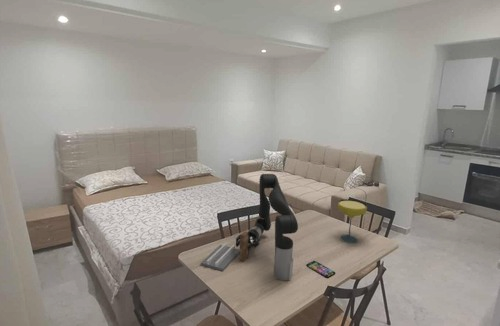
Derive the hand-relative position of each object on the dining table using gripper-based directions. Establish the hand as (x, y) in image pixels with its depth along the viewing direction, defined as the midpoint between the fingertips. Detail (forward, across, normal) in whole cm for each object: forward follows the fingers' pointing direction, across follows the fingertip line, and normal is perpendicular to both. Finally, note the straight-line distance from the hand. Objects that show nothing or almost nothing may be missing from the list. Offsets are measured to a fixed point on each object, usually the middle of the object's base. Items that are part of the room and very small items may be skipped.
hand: (242, 246), depth 159 cm
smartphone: (-10, +42, +9) cm, 45 cm away
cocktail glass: (-54, +54, +9) cm, 77 cm away
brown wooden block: (-2, 0, +9) cm, 9 cm away
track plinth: (+3, -12, +9) cm, 15 cm away
